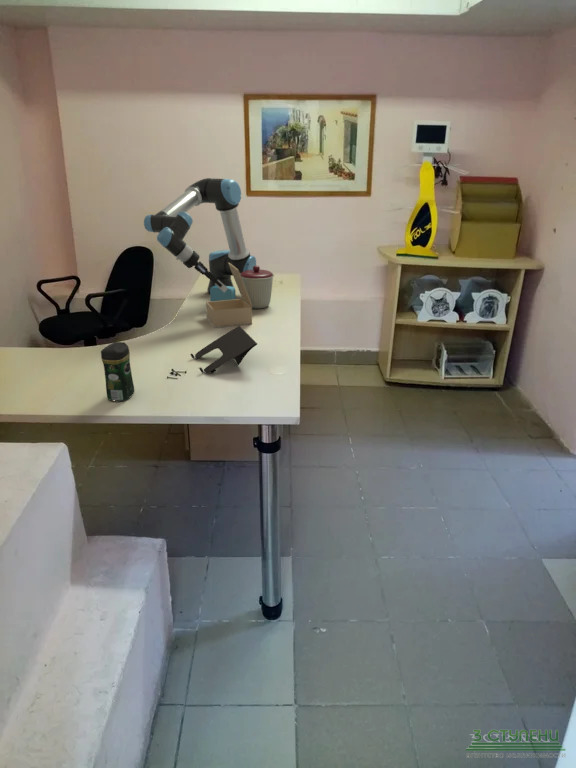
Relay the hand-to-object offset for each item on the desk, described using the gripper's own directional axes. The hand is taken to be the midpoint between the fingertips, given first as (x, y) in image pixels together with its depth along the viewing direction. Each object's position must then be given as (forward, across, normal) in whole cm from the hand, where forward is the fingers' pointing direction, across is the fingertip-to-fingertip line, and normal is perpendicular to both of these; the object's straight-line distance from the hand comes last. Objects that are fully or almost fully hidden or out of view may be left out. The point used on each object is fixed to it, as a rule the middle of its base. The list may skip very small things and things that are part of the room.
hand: (225, 290), depth 264 cm
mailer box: (+11, 0, -10) cm, 15 cm away
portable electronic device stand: (0, +52, -22) cm, 56 cm away
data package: (+13, -19, -9) cm, 25 cm away
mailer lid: (+3, 0, +6) cm, 7 cm away
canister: (+26, -20, +4) cm, 33 cm away
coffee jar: (-28, +71, -50) cm, 91 cm away
